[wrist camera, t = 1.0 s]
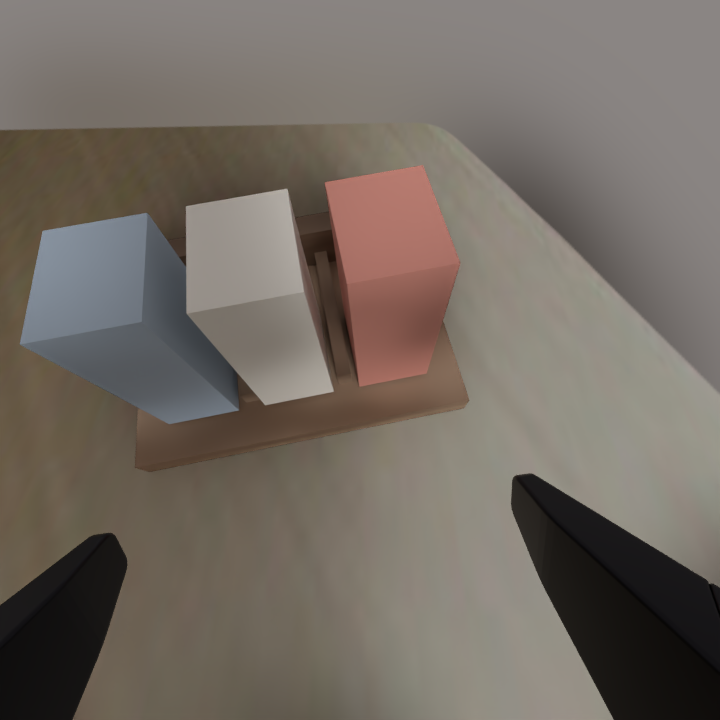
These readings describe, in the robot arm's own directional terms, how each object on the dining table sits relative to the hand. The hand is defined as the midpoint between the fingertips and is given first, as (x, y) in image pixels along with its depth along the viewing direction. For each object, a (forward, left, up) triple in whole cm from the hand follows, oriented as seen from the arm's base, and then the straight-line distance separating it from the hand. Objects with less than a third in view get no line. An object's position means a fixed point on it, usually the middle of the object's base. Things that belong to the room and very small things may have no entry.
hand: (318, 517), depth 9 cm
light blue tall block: (0, +12, -12) cm, 17 cm away
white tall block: (+5, +9, -12) cm, 15 cm away
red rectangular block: (+9, +5, -12) cm, 16 cm away
